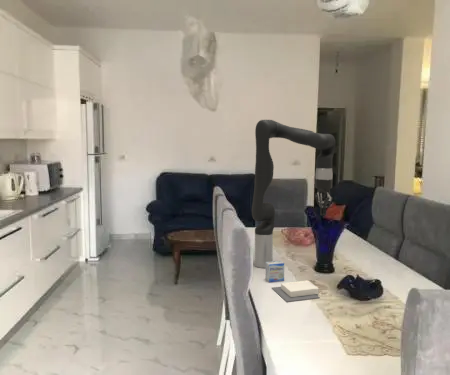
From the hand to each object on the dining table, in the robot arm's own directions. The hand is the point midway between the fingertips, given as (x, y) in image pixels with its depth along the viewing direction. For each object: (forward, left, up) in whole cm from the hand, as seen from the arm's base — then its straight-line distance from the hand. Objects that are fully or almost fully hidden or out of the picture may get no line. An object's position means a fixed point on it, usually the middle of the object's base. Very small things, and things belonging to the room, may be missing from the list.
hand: (322, 215), depth 190 cm
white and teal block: (+12, -10, -29) cm, 33 cm away
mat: (+12, -19, -31) cm, 38 cm away
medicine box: (-6, -21, -31) cm, 38 cm away
